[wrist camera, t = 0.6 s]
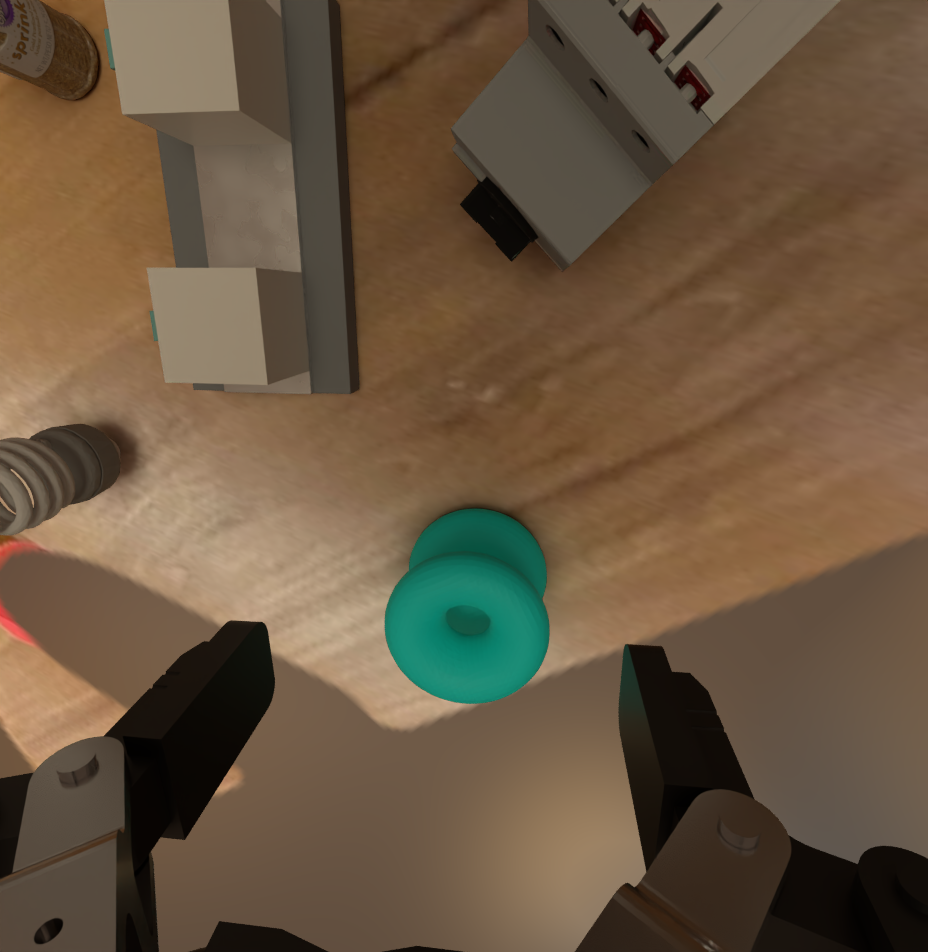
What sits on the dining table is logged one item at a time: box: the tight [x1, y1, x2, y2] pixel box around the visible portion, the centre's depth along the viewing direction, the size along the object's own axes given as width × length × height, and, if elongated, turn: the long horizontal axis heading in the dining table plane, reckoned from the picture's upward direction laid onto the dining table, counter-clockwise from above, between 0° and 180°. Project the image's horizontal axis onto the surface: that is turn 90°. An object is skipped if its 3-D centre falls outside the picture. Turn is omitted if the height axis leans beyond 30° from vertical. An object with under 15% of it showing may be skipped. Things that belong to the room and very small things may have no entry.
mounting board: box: [156, 0, 359, 394], centre depth 35 cm, size 22×11×2 cm, turn 0°
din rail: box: [194, 0, 314, 394], centre depth 34 cm, size 22×6×1 cm, turn 0°
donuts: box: [385, 508, 550, 704], centre depth 37 cm, size 10×10×10 cm
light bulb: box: [0, 424, 121, 535], centre depth 37 cm, size 6×6×12 cm
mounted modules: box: [104, 0, 309, 385], centre depth 31 cm, size 19×7×6 cm, turn 0°
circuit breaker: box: [451, 0, 840, 272], centre depth 26 cm, size 8×14×15 cm, turn 134°
